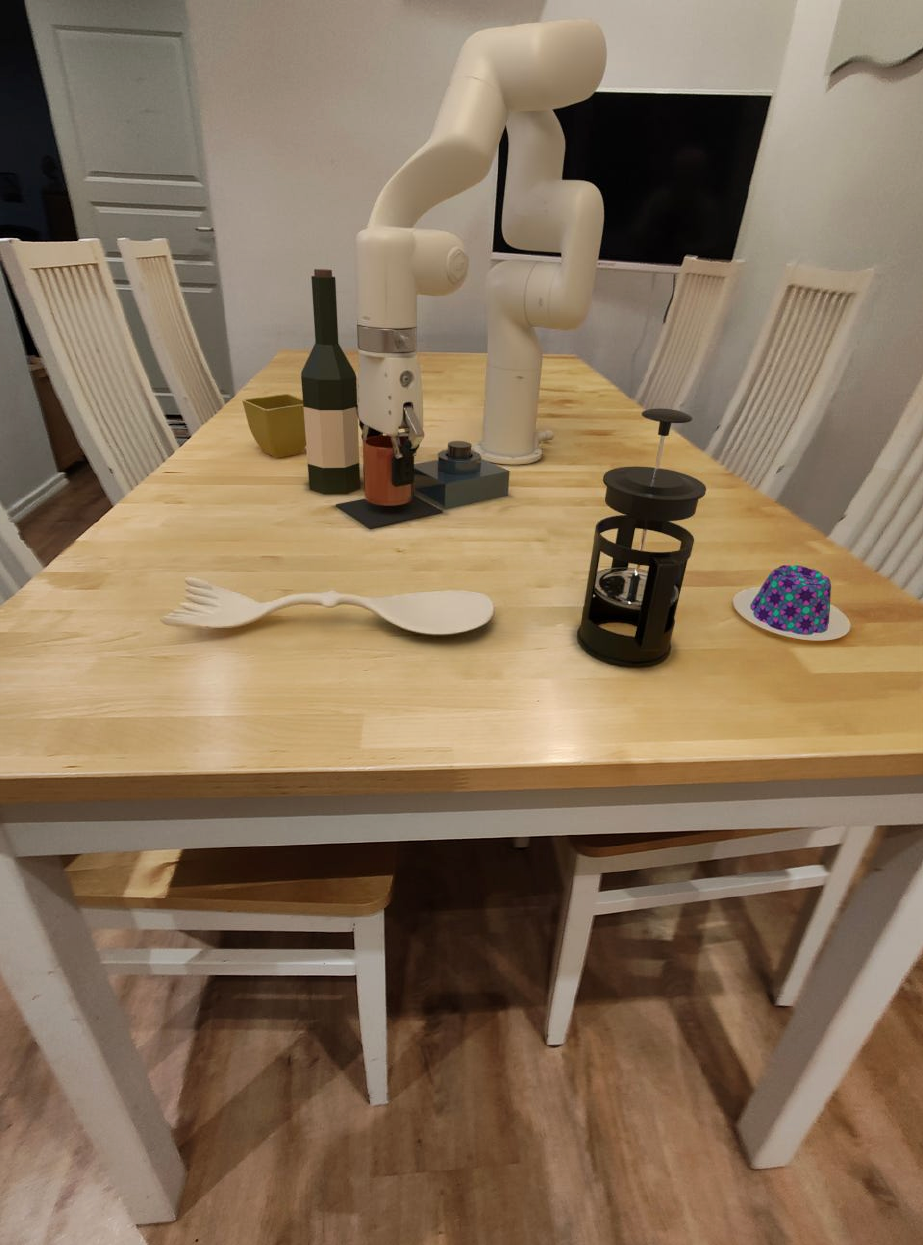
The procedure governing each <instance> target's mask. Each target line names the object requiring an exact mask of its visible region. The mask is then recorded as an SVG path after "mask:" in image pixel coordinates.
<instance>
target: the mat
mask: <svg viewBox="0 0 923 1245" xmlns="http://www.w3.org/2000/svg"><path fill="white" fill-rule="evenodd" d="M335 507H336V508H337V509H338V510H340V511H342V512H343V513H344V514H346V515H348V516H349V517H351V518H352V519H353V520H355V521H356V522H357V523H360V524H361V525H362V526H364V527H365V528H367V529H368V530H374V529H378V528H379V529H380V528H383V527H388V526H392V525H396V524H402V523H406V522H409V521H414V520H419V519H424V518H428V517H432V516H437V515H441V514H443V513H444V511H443V510H442V509H441V508H439V507H438V506H436V505H434V504H432V503H430V502H429V501H427V500H425V499H423V498H421V497H419V496H418V495H417V496H416V494H414V493H413V494H412V500H411V501H410V502H408V503H405V504H401V505H394V506H384V505H377V504H373V503H370V502H368V501H366V500H365V498H361V499H356V500H351V501H345V502H340V503H336V504H335Z"/></svg>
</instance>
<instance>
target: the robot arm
mask: <svg viewBox="0 0 923 1245" xmlns="http://www.w3.org/2000/svg"><path fill="white" fill-rule="evenodd" d="M607 52H608V50H607V42H606V38H605V34H604V32H603V30H602V28H601V26H600V25H599V24H598V22H597V21H596V20H594V19H592V18H591V17H590V18H589V17H582V18H572V19H564V20H561V19H560V20H553V21H539V22H538V21H537V22H527V23H521V24H514V25H507V26H499V27H490V28H485V29H481V30H478V31H476V32H474V33H472V34H471V35H470V36H469V37H468V38H467V39H466V40H465V42H464V43H463V45H462V47H461V49H460V51H459V53H458V56H457V58H456V62H455V64H454V67H453V70H452V73H451V76H450V79H449V82H448V84H447V88H446V91H445V93H444V96H443V99H442V102H441V105H440V108H439V111H438V113H437V116H436V119H435V123H434V125H433V128H432V130H431V134H430V137H429V138H428V140H427V141H426V142H425V143H424V144H423V145H422V146H421V147H420V148H419V149H418V150H416V151H415V152H414V153H413V154H412V155H411V156H410V157H409V158H408V159H407V160H406V161H405V163H403V164H402V166H401V167H400V168H399V169H398V170H396V172H394V173H393V175H392V176H391V177H390V179H388V180H387V182H386V184H385V185H384V186H383V187H382V189H381V191H380V192H379V195H377V198H376V201H375V203H374V206H373V208H372V210H371V214H370V217H369V220H368V222H367V226H366V228H365V229H364V228H363V229H362V230H360V231H358V233H357V234H356V236H355V240H354V262H355V263H354V267H355V269H354V270H355V299H356V303H355V304H356V333H357V334H356V336H357V353H358V354H359V355H358V363H357V406H356V408H355V411H356V414H357V416H358V427H359V428H360V430H361V441H363V440H364V439H365V438H368V437H371V436H377V435H388V436H390V437H391V441H392V445H393V449H394V454H395V457H392V485H393V486H395V487H398V486H403V485H409V484H412V483H413V482H414V464H415V457H416V456H417V453H418V451H417V450H418V449H419V448H420V445H421V443H422V442H423V440H424V438H425V431H424V397H423V396H424V395H423V381H422V372H421V365H420V359H419V356H418V355H417V350H418V348H417V346H418V345H417V344H418V327H417V326H418V295H419V296H420V295H421V296H430V297H446V296H450V295H451V294H454V293H455V292H457V291H458V290H459V289H460V288H461V287H462V286H463V284H464V283H465V281H466V279H467V276H468V275H469V274H468V273H469V269H470V259H469V258H470V257H469V253H468V249H467V248H466V246H465V244H464V243H463V241H462V240H461V239H460V238H459V237H458V236H456V235H455V234H454V233H451V232H449V231H445V230H441V229H426V228H425V229H424V228H417V227H414V226H415V225H416V223H417V222H418V221H419V220H420V219H421V218H422V217H423V216H424V215H425V214H426V213H427V212H429V210H431V209H433V208H434V207H436V206H437V205H438V204H441V203H443V202H444V201H447V200H449V199H451V198H453V197H455V196H458V195H460V194H462V193H464V192H465V191H467V190H469V189H471V188H473V187H474V186H476V185H478V184H480V183H481V182H482V181H484V179H485V178H486V177H487V176H488V175H489V173H490V171H491V168H492V166H493V162H494V160H495V157H496V154H497V150H498V147H499V145H500V142H501V139H502V136H503V133H504V130H505V128H506V132H507V138H508V140H507V141H508V153H507V166H506V174H505V185H504V195H503V203H502V214H501V233H502V237H503V239H504V241H505V243H506V244H507V245H508V246H510V247H511V248H514V249H517V250H523V251H532V252H545V253H560V254H561V262H557V261H556V262H555V261H544V260H535V259H534V260H533V259H521V258H520V259H519V258H518V259H507V260H502V261H501V262H498V263H497V264H495V265H494V266H493V267H492V268H491V269H490V270H489V271H488V274H487V275H486V279H485V282H484V304H485V306H484V307H485V312H486V323H487V347H486V348H487V349H486V350H487V351H486V353H487V354H486V366H485V383H484V400H483V419H482V420H483V421H482V434H481V441H479V442H476V444H474V445H473V447H472V451H475V452H477V453H479V454H480V455H481V459H483V460H485V461H487V462H490V463H492V464H499V465H510V466H511V465H512V466H513V465H514V466H515V465H517V466H519V465H527V464H533V463H535V462H538V461H540V460H541V459H542V457H543V450H542V449H541V448H540V447H539V444H541V443H542V442H548V441H549V442H550V441H552V440H553V439H554V438H555V433H554V431H553V430H552V429H547V430H546V429H545V430H541V431H540V429H538V428H537V420H538V410H539V401H540V400H539V398H540V388H541V378H542V370H543V369H542V368H543V359H544V358H543V356H544V355H543V347H542V344H541V341H540V339H539V337H538V334H537V332H536V330H535V328H543V329H552V330H561V331H572V330H576V329H578V328H579V327H580V326H582V325H583V323H584V322H585V321H586V319H587V317H588V314H589V311H590V308H591V304H592V298H593V294H594V287H595V280H596V276H597V275H596V274H597V268H598V262H599V256H600V251H601V250H600V249H601V244H602V236H603V231H604V223H605V209H604V208H605V206H604V199H603V196H602V194H601V190H600V189H599V188H598V187H597V186H596V185H595V184H594V183H592V182H590V181H586V180H581V179H563V172H564V161H565V154H566V153H565V152H566V138H565V135H564V132H563V128H562V126H561V122H560V120H559V119H558V117H557V116H556V113H555V112H554V110H557V109H562V108H565V107H568V106H571V105H574V104H577V103H580V102H585V100H588V99H590V98H591V97H592V96H593V95H594V94H595V92H596V91H597V90H598V89H599V86H600V84H601V83H602V81H603V78H604V76H605V75H604V74H605V72H606V68H607V66H606V65H607V58H608V57H607V56H608V54H607ZM399 430H404V431H400V432H399ZM401 438H405V439H406V440H405V442H404V443H403V444H402V446H401V445H400V440H399V439H401Z"/></svg>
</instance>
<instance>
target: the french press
mask: <svg viewBox="0 0 923 1245" xmlns="http://www.w3.org/2000/svg"><path fill="white" fill-rule="evenodd" d="M641 416H642V417H643V418H645V419H647V420H650V421H654V422H659V424H658V431H657V435H658V436H660V439H659V443H658V450H657V453H656V454H657V455H656V460H655V465H654V467H652V466H621V467H616V468H613V469H610V470H608V471H606V472H605V473H604V474H603V476H602V482H603V484H604V485H605V487H606V489H605V495H604V503H605V504H606V506H608V507H609V508H610V509H611V510H613V511H615V512H617V513H619V514H620V515H612V516H609V517H605V518H602V519H601V520H599V521H598V522H597V523H596V524H595V528H594V535H593V544H592V549H591V550H592V551H591V557H590V565H589V568H588V576H587V583H586V589H585V598H584V602H583V607H582V613H581V620H580V624H579V626H578V629H577V631H576V641H577V643H578V645H579V647H580V648H581V649H582V650H583V651H584V652H585V653H586V654H587V655H589V656H591V657H592V658H594V659H596V660H598V661H600V662H602V663H605V664H608V665H610V666H611V665H612V666H616V667H619V668H627V669H628V668H629V669H645V668H651V667H654V666H657V665H660V664H662V663H663V662H665V661H666V660H668V658H669V657H670V655H671V651H672V638H673V634H674V628H675V625H676V620H675V616H676V613H677V607H678V604H679V599H680V595H681V590H682V586H683V582H684V578H685V573H686V570H687V565H688V560H689V559H690V558H691V556H692V552H693V548H694V544H695V538H694V535H693V534H692V533H691V531H689V530H688V529H686V528H685V527H683V526H681V525H680V524H677V523H675V522H677V521H683V520H687V519H689V518H692V517H693V516H695V515H696V512H697V507H698V504H699V500H700V499H702V498H703V497H705V495H706V492H707V487H706V485H705V484H704V483H703V482H702V481H701V480H700V479H698V478H696V477H693V476H691V475H688V474H686V473H682V472H680V471H676V470H672V469H666V468H660V464H661V460H662V454H663V449H664V443H665V438H666V437H668V436H669V435H670V432H671V428H672V424H687V423H691V422H692V421H693V417H692V416H691V415H690V414H688V413H686V412H683V411H681V410H677V409H672V408H660V407H659V408H650V409H646V410H643V411H642V412H641ZM636 529H638V530H639V529H640V530H642V531H641V532H642V533H641V538H640V543H639V547H638V548H639V549H636V548H635V549H634V548H633V542H634V538H635V532H636ZM611 530H617V532H616V537H615V543H614V542H613V541H611V540H608V539H607V538H606V537H604V536H603V535H602V533H605V532H606V531H611ZM647 531H651V532H656V533H661V534H663V535H666V536H669V537H671V538H674V539H675V540H677V541H679V542H680V544H679V549H677V550H671V551H648V550H644V546H645V541H646V535H647ZM601 553H603V554H604V555H606V556H608V557H610V558H612V561H611V566H610V567H609V568H605V569H601V570H599V564H600V558H601ZM629 564H631V565H632V564H633V565H635V567H634V568H633V567H629ZM641 566H645V567H648V569H647V570H645V569H641ZM598 570H599V571H598ZM605 624H626V625H630V626H634V627H635V632H634V636H633V635H626V634H621V633H617V632H614V631H611V630H608V629H606V628H603V627H601V625H605Z"/></svg>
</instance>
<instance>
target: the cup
mask: <svg viewBox="0 0 923 1245" xmlns="http://www.w3.org/2000/svg"><path fill="white" fill-rule="evenodd" d="M399 440H400V445H401V446H402V444H403V443H404V442H405V440H406V439H405V438H401V439H399ZM361 441H362V440H361ZM392 457H395V454H394V449H393V445H392V441H391V437H390V436H388V435H386V434H383V435H377V436H371V437H368V438H365V439H364V440H363V441H362V472H363V473H362V474H363V475H362V476H363V494H364V499H365V500H366V501H368V502H370V503H373V504H377V505H384V506H394V505H401V504H405V503H408V502H410V501H411V500H412V494H413V495H414V493H413V483H412V484H409V485H403V486H398V487H395V486H393V485H392Z"/></svg>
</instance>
